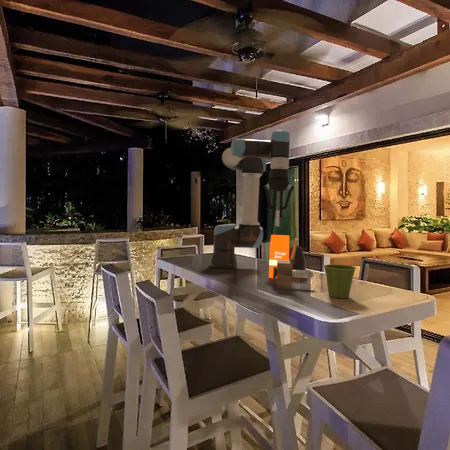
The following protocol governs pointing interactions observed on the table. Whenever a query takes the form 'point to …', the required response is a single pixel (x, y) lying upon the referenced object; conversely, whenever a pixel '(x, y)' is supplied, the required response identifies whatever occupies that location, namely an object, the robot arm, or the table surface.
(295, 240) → the plate
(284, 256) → the orange juice
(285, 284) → the hitch block
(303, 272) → the pin
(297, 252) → the pump dispenser
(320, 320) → the table surface
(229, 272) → the table surface
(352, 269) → the plant pot
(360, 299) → the table surface
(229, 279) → the table surface
